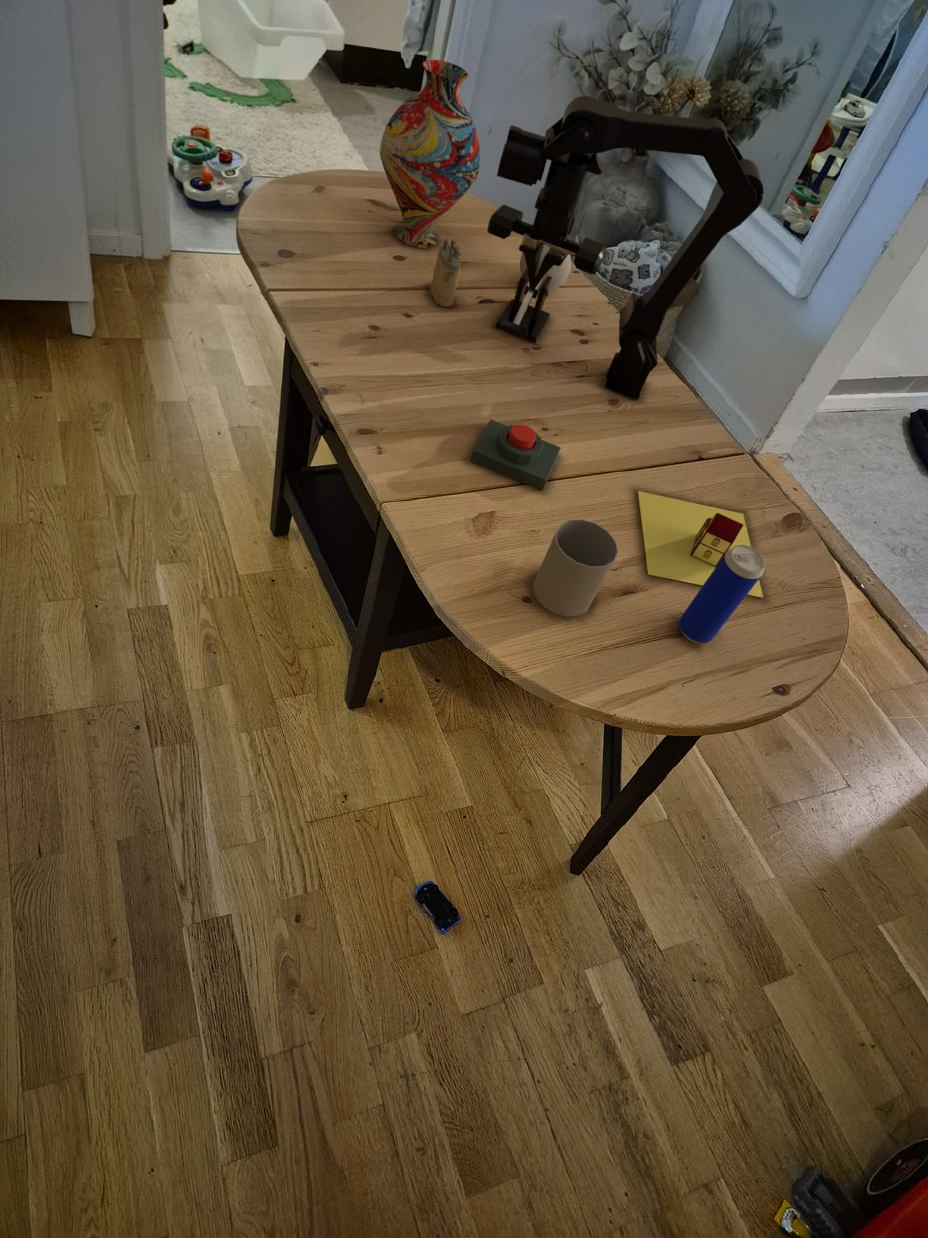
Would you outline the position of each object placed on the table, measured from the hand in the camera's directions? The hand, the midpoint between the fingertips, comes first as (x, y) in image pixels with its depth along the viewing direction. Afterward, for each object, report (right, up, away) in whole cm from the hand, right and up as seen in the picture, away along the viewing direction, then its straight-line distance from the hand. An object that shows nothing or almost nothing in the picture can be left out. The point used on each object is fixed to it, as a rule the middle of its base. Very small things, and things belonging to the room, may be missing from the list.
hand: (532, 288), depth 133 cm
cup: (+2, -52, -24) cm, 57 cm away
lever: (-1, +1, +11) cm, 11 cm away
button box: (-4, -30, -9) cm, 32 cm away
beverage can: (+20, -57, -23) cm, 65 cm away
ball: (+3, +11, +27) cm, 29 cm away
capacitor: (-16, +5, +16) cm, 23 cm away
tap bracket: (0, 0, +17) cm, 17 cm away
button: (-3, -28, -12) cm, 31 cm away
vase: (-21, +22, +29) cm, 42 cm away
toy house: (+24, -44, -11) cm, 51 cm away
